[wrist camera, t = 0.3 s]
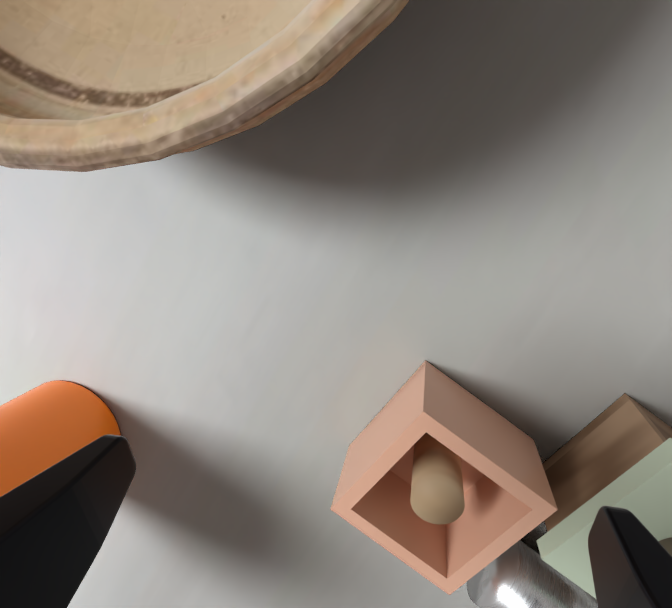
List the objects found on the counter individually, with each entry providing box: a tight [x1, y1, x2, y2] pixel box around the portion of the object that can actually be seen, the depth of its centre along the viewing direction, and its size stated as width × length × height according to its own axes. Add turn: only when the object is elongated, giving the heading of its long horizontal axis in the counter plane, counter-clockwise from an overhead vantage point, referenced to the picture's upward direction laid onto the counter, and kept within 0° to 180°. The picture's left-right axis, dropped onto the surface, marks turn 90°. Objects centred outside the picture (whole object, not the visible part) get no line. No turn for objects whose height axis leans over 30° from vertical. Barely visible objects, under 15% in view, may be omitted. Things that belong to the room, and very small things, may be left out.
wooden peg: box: [410, 432, 465, 524], centre depth 22 cm, size 2×2×4 cm
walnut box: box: [542, 394, 672, 532], centre depth 21 cm, size 6×6×4 cm
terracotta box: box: [331, 360, 558, 595], centre depth 22 cm, size 7×7×5 cm
